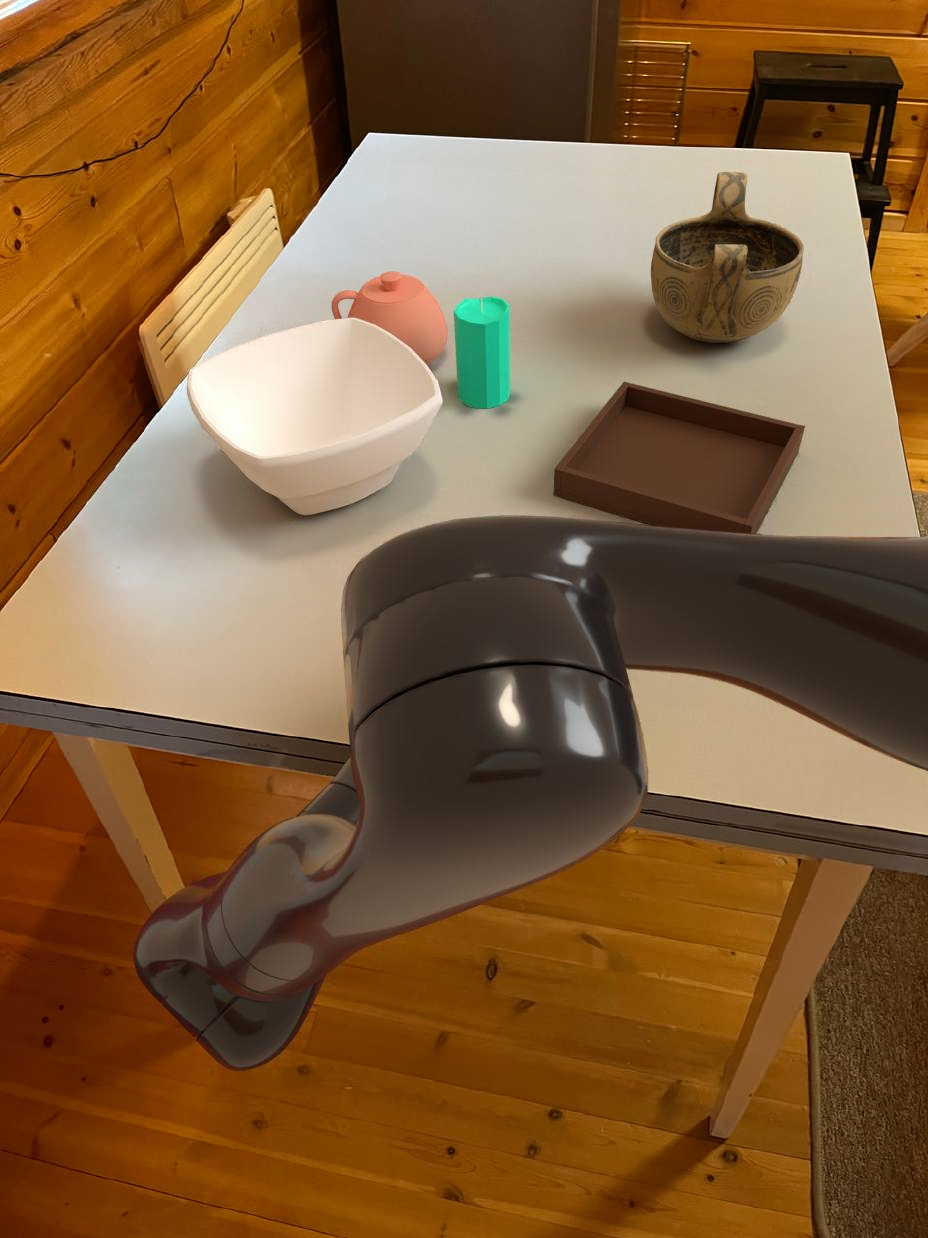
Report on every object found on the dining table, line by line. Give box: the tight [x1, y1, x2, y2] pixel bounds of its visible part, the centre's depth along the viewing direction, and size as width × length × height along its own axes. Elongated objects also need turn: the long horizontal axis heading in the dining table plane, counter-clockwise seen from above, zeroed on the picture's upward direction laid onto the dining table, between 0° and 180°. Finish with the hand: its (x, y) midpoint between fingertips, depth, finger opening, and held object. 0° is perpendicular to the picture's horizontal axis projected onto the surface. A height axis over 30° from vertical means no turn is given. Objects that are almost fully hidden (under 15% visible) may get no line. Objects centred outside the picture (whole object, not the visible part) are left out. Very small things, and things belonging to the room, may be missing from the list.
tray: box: [553, 381, 806, 534], centre depth 93 cm, size 20×18×3 cm
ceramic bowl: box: [650, 171, 805, 344], centre depth 109 cm, size 22×17×15 cm
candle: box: [453, 293, 511, 410], centre depth 102 cm, size 6×6×12 cm
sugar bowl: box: [331, 270, 449, 366], centre depth 109 cm, size 12×14×10 cm
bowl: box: [186, 317, 444, 516], centre depth 91 cm, size 22×22×12 cm
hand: (549, 630), depth 70 cm, fingers open, 8 cm apart
